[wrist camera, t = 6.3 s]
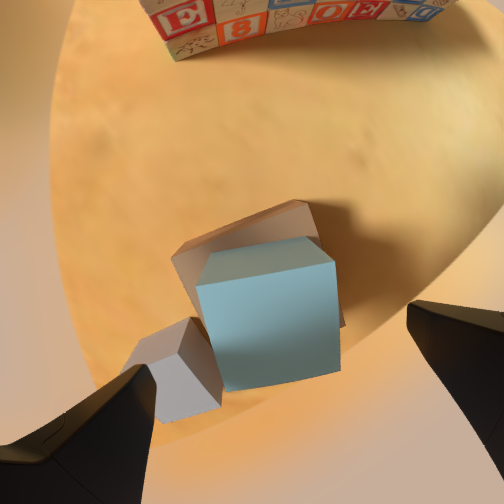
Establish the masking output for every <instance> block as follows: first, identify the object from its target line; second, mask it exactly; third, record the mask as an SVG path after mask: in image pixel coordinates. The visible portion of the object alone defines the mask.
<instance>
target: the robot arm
mask: <svg viewBox="0 0 504 504" xmlns="http://www.w3.org/2000/svg"><path fill="white" fill-rule="evenodd" d="M407 329H408V331H409V333H410V335H411V336H412V338H413V339H414V341H415V342H416V344H417V346H418V348H419V350H420V351H421V353H422V355H423V356H424V358H425V359H426V361H427V362H428V364H429V365H430V367H431V368H432V369H433V371H434V372H435V373H436V375H437V376H438V377H439V379H440V380H441V382H442V383H443V384H444V386H445V387H446V389H447V390H448V391H449V393H450V394H451V396H452V397H453V399H454V400H455V402H456V403H457V404H458V406H459V407H460V409H461V410H462V411H463V413H464V415H465V416H466V418H467V419H468V421H469V422H470V424H471V426H472V427H473V429H474V430H475V432H476V433H477V435H478V437H479V438H480V440H481V441H482V443H483V445H485V448H486V450H487V452H488V453H489V455H490V457H491V458H492V460H493V462H494V464H495V465H496V467H497V469H498V471H499V472H500V474H501V476H502V478H503V480H504V312H499V311H491V310H484V309H477V308H470V307H463V306H456V305H449V304H442V303H436V302H429V301H423V300H416V301H413V302H410V303H409V304H408V306H407ZM156 394H157V384H156V381H155V379H154V377H153V375H152V373H151V371H150V369H149V367H148V366H147V365H146V364H135V365H133V366H132V367H131V368H129V369H128V370H126V371H125V372H123V373H122V374H120V375H119V376H118V377H116V378H115V379H113V380H112V381H110V382H109V383H108V384H106V385H105V386H103V387H102V388H100V389H99V390H97V391H96V392H94V393H93V394H92V395H90V396H89V397H87V398H86V399H84V400H83V401H81V402H80V403H78V404H77V405H75V406H74V407H72V408H71V409H69V410H68V411H66V413H63V414H62V415H60V416H59V417H57V418H56V419H54V420H52V421H51V422H49V423H48V424H46V425H44V426H43V427H41V428H40V429H37V430H36V431H34V432H32V433H30V434H28V435H26V436H25V437H23V438H21V439H19V440H17V441H15V442H13V443H11V444H8V445H2V446H0V504H141V499H142V491H143V485H144V478H145V472H146V466H147V459H148V454H149V448H150V443H151V437H152V432H153V426H154V418H155V405H156Z"/></svg>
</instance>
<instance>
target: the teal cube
mask: <svg viewBox="0 0 504 504" xmlns="http://www.w3.org/2000/svg"><path fill="white" fill-rule="evenodd" d="M196 290H197V294H198V298H199V301H200V305H201V309H202V313H203V316H204V320H205V324H206V327H207V331H208V334H209V338H210V341H211V345H212V348H213V352H214V355H215V358H216V362H217V365H218V368H219V371H220V375H221V378H222V381H223V384H224V387H225V390H226V392H230V391H238V390H246V389H253V388H260V387H266V386H272V385H278V384H283V383H289V382H294V381H299V380H303V379H308V378H313V377H317V376H321V375H326V374H329V373H333V372H337V371H341V370H340V367H341V366H340V326H339V306H338V291H337V277H336V266H335V261H334V260H333V259H332V258H331V257H330V256H328V255H327V254H326V253H325V252H324V251H322V250H321V249H320V248H319V247H318V246H316V245H315V244H314V243H313V242H312V241H310V240H309V239H308V238H307V237H306V236H303V237H297V238H292V239H286V240H280V241H275V242H269V243H263V244H258V245H252V246H247V247H241V248H236V249H230V250H224V251H219V252H213V253H211V254H210V256H209V258H208V260H207V263H206V265H205V267H204V269H203V271H202V273H201V276H200V278H199V280H198V282H197V284H196Z"/></svg>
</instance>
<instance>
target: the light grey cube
mask: <svg viewBox="0 0 504 504" xmlns="http://www.w3.org/2000/svg"><path fill="white" fill-rule="evenodd" d="M135 364H146V365H147V366H148V367H149V369H150V371H151V373H152V375H153V377H154V379H155V381H156V384H157V394H156V405H155V417H156V418H157V419H158V420H159V421H160V422H161V423H162V424H165V423H169V422H173V421H177V420H180V419H184V418H187V417H191V416H194V415H197V414H201V413H204V412H207V411H210V410H213V409H216V408H219V407H221V403H222V389H223V381H222V378H221V375H220V371H219V368H218V365H217V362H216V358H215V355H214V352H213V349H212V347H211V346H210V345H209V343H208V342H207V340H206V339H205V337H204V336H203V335H202V333H201V332H200V330H199V329H198V327H197V326H196V324H195V323H194V321H193V320H192V318H191V317H188V318H186V319H184V320H182V321H180V322H178V323H175V324H173V325H171V326H169V327H167V328H165V329H163V330H161V331H158V332H156V333H154V334H152V335H150V336H148V337H146V338H143V339H141V340H140V341H139V342H138V344H137V346H136V347H135V349H134V351H133V352H132V354H131V356H130V357H129V359H128V361H127V362H126V364H125V366H124V368H123V369H122V371H121V373H120V374H122V373H123V372H125V371H126V370H128V369H129V368H131V367H132V366H133V365H135Z"/></svg>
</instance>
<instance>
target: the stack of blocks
mask: <svg viewBox="0 0 504 504" xmlns="http://www.w3.org/2000/svg"><path fill="white" fill-rule="evenodd" d="M456 1H458V0H139V2H140V4H141V6H142V8H143V9H144V11H145V12H146V14H148V16H149V18H150V20H151V21H152V23H153V25H154V26H155V28H156V30H157V31H158V33H159V34H160V36H161V38H162V39H163V40H164V42H165V45H166V47H167V48H168V50H169V52H170V54H171V56H172V58H173V59H174V61H175V62H176V61H179V60H182V59H184V58H187V57H189V56H192V55H195V54H197V53H200V52H203V51H206V50H209V49H212V48H215V47H218V46H224V45H227V44H230V43H234V42H237V41H241V40H244V39H248V38H252V37H256V36H260V35H263V34H269V33H273V32H279V31H283V30H289V29H294V28H300V27H304V26H306V25H311V24H316V23H326V22H335V21H342V20H356V19H374V18H375V19H377V20H412V21H426V22H427V21H429V20H430V19H432V18H433V17H434V16H436V15H437V14H439V13H440V12H441V11H443V10H444V9H445V8H447V7H449V6H450V5H452V4H453V3H455V2H456Z"/></svg>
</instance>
